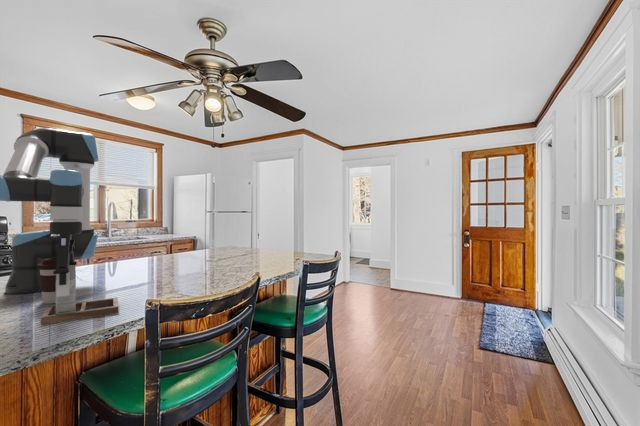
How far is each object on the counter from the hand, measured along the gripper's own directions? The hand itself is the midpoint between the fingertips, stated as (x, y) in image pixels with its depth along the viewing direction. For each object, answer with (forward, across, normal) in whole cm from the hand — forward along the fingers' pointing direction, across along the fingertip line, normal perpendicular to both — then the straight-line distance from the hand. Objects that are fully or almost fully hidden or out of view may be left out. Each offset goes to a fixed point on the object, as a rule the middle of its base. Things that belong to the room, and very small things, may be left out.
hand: (65, 290), depth 91 cm
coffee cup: (+8, -20, -4) cm, 22 cm away
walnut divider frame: (+8, 0, +4) cm, 9 cm away
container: (+8, 0, 0) cm, 8 cm away
